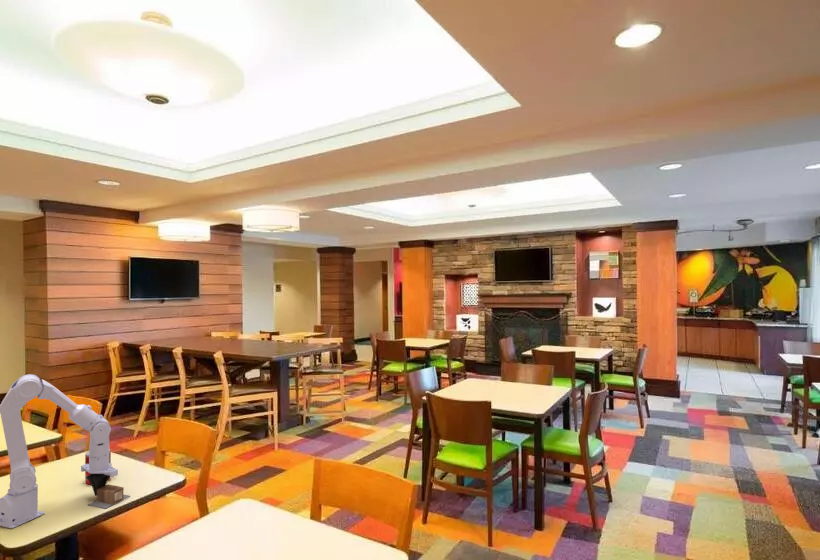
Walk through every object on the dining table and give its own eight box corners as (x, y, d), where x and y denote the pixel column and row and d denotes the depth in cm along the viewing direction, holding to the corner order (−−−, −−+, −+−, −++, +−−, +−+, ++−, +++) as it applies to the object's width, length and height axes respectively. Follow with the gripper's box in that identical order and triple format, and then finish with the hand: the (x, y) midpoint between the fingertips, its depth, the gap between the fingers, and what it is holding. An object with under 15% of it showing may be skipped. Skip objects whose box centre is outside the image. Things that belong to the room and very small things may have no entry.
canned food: (101, 485, 167) (101, 455, 167) (79, 485, 167) (79, 455, 167) (115, 476, 174) (115, 447, 174) (94, 476, 174) (94, 447, 174)
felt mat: (105, 509, 150) (105, 508, 150) (87, 505, 152) (87, 504, 152) (130, 496, 158) (130, 495, 158) (112, 493, 161) (112, 492, 161)
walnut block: (96, 501, 154) (112, 504, 152) (96, 489, 154) (112, 492, 152) (107, 495, 158) (123, 499, 156) (108, 484, 158) (123, 487, 156)
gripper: (126, 453, 158) (125, 492, 158) (94, 448, 163) (94, 486, 163) (106, 460, 152) (106, 502, 152) (74, 455, 156) (74, 495, 156)
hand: (99, 494), depth 157 cm, fingers closed
